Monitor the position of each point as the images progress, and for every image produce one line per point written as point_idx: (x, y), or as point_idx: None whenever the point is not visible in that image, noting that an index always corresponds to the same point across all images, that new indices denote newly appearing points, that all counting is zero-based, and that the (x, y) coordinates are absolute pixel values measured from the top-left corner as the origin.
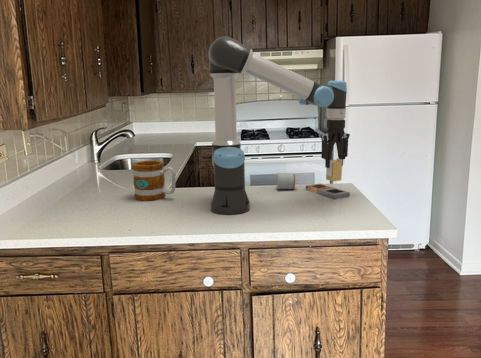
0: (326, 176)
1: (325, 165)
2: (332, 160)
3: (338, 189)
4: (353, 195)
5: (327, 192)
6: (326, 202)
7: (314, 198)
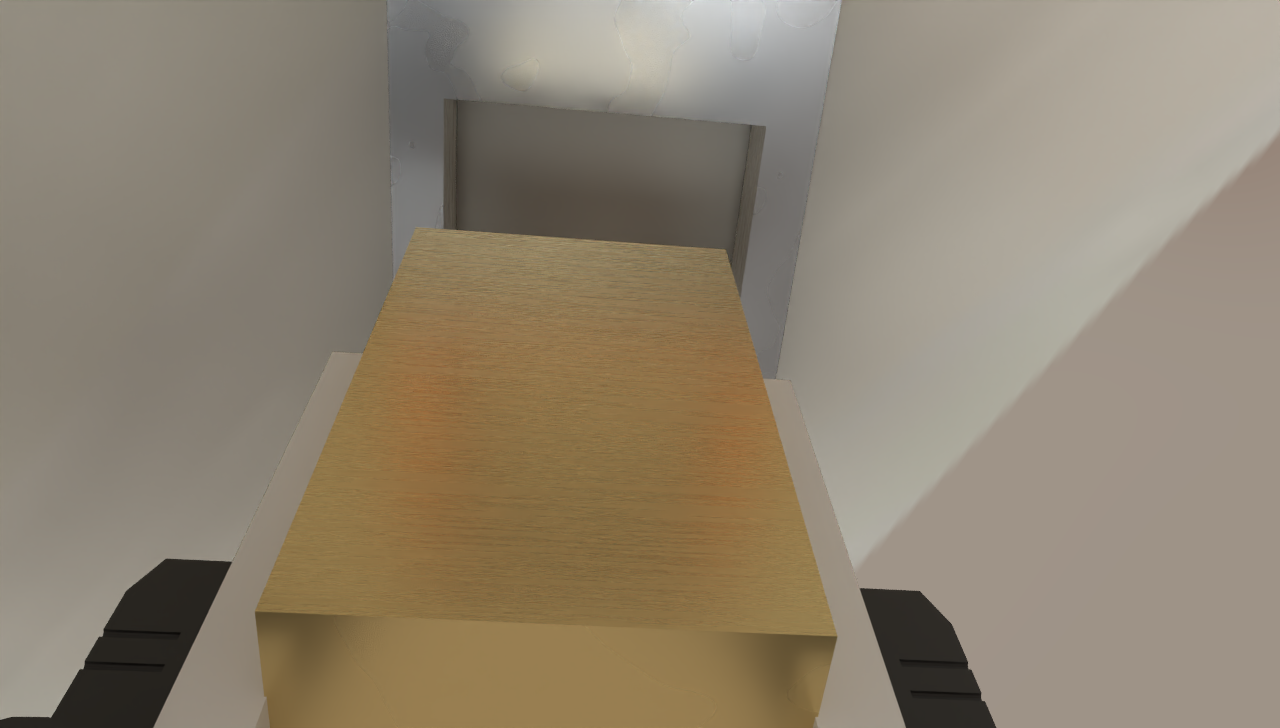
0: (400, 280)
1: (111, 626)
2: (592, 681)
3: (778, 203)
4: (864, 422)
5: (403, 252)
6: (170, 472)
7: (114, 164)
